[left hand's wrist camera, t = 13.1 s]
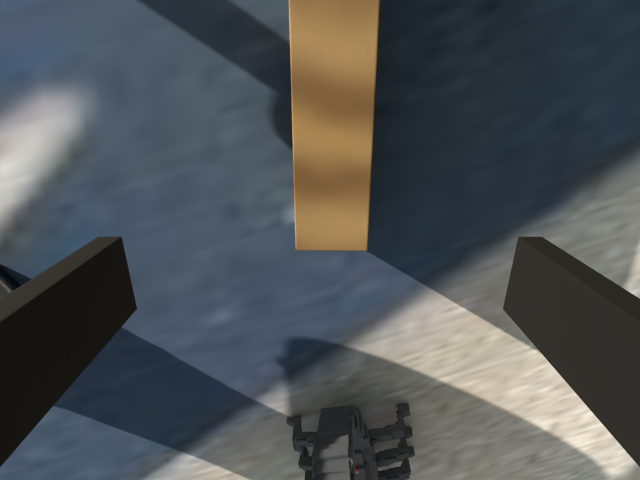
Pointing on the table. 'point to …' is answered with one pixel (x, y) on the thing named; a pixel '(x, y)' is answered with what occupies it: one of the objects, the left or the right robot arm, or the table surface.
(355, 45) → the beam
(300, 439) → the toy
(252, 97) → the table surface
